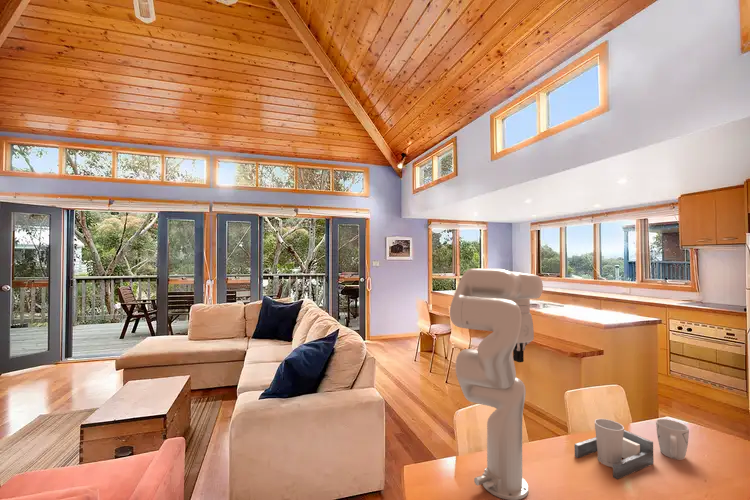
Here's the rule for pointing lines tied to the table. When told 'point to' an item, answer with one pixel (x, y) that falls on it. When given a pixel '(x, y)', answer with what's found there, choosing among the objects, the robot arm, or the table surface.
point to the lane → (626, 464)
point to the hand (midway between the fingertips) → (518, 361)
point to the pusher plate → (629, 448)
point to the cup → (609, 441)
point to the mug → (672, 438)
